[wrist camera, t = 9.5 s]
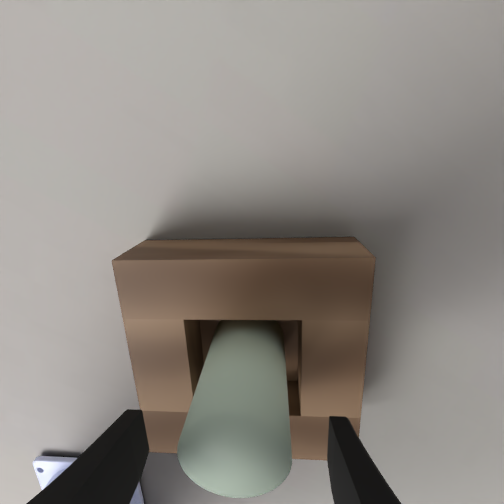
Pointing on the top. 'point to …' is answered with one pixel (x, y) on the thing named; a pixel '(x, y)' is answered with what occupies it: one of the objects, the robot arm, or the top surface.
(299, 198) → the top surface
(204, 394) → the peg
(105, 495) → the robot arm
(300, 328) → the socket block
